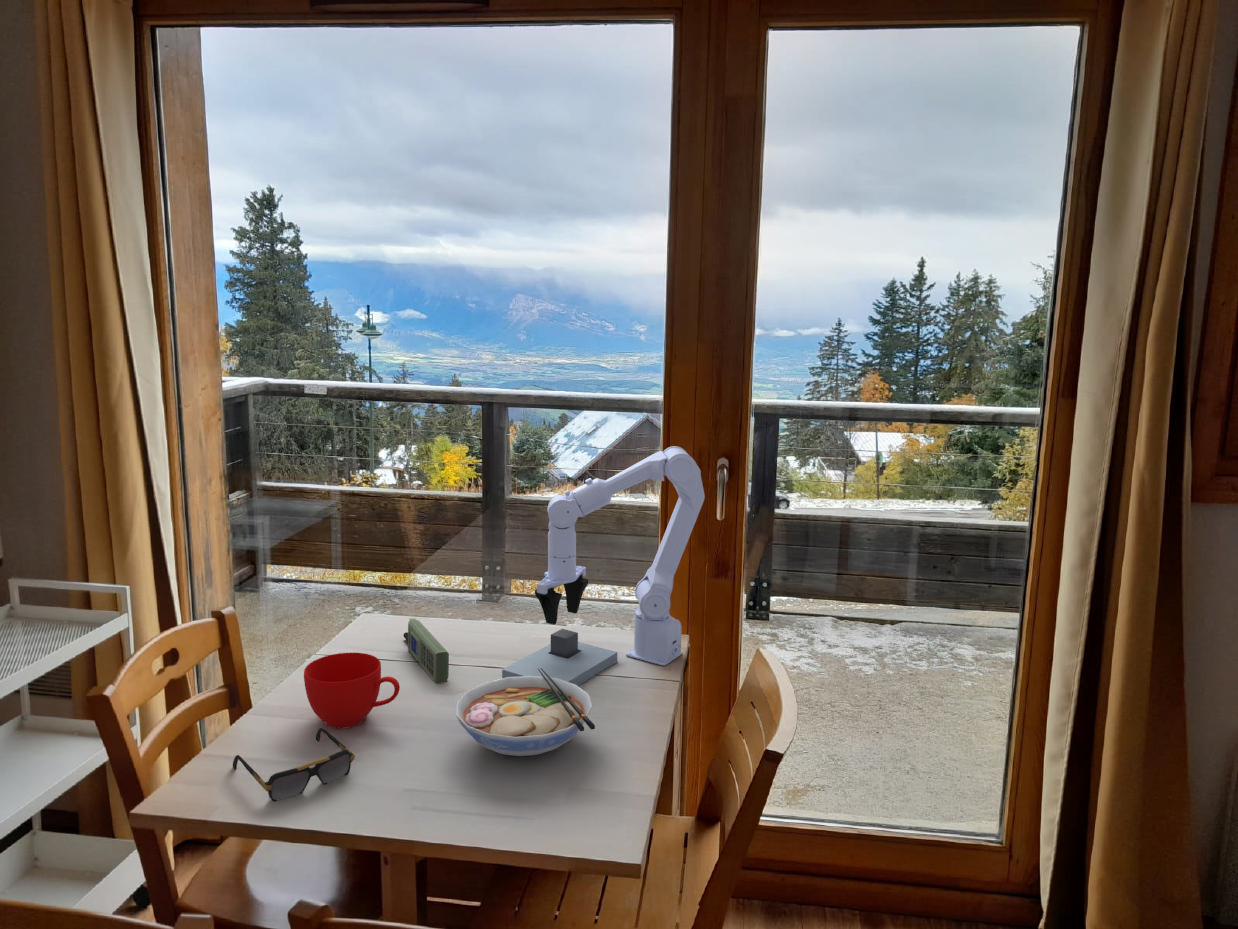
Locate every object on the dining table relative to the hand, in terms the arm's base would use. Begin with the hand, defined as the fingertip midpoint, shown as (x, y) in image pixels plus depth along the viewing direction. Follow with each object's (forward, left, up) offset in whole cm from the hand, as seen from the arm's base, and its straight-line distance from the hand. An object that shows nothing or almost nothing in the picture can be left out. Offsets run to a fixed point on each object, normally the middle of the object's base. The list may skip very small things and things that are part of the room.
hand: (562, 617), depth 186 cm
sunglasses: (+8, +60, -9) cm, 61 cm away
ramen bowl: (-17, +33, -9) cm, 38 cm away
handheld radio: (+23, +17, -9) cm, 30 cm away
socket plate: (-4, +5, -9) cm, 11 cm away
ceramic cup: (+13, +43, -9) cm, 46 cm away
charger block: (-2, +1, -9) cm, 9 cm away
